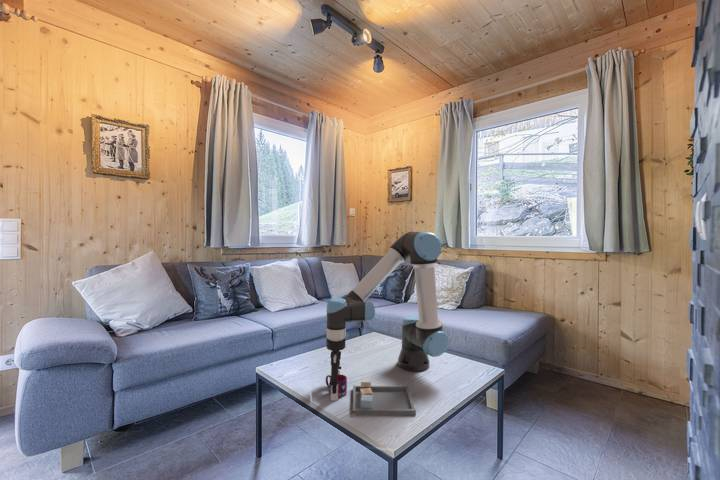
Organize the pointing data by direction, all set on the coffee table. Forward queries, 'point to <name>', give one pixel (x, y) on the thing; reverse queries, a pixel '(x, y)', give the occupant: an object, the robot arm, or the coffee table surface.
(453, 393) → the coffee table surface
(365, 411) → the tray
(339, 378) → the mug
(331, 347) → the robot arm
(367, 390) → the block beech
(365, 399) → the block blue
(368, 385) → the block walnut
